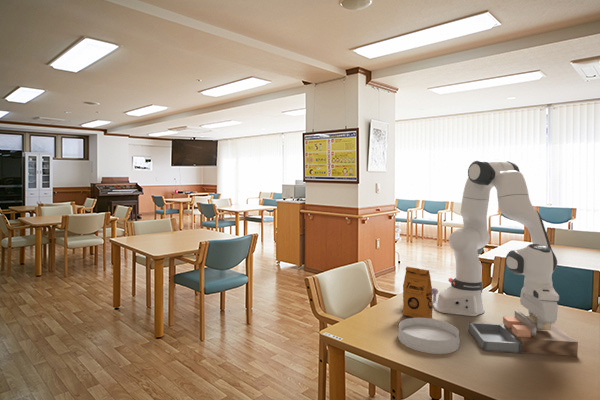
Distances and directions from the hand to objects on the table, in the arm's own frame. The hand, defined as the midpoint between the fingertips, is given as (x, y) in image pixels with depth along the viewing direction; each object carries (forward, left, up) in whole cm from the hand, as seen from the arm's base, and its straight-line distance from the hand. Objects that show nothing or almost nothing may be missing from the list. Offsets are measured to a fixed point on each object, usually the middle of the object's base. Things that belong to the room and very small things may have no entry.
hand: (536, 325), depth 138 cm
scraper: (0, 0, -1) cm, 1 cm away
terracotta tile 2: (-7, +4, -2) cm, 8 cm away
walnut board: (+1, 0, -7) cm, 7 cm away
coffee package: (-39, +21, -7) cm, 45 cm away
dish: (-39, -3, -8) cm, 40 cm away
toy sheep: (-36, +40, -7) cm, 54 cm away
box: (-15, 0, -7) cm, 16 cm away
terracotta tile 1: (-7, -4, -2) cm, 8 cm away
